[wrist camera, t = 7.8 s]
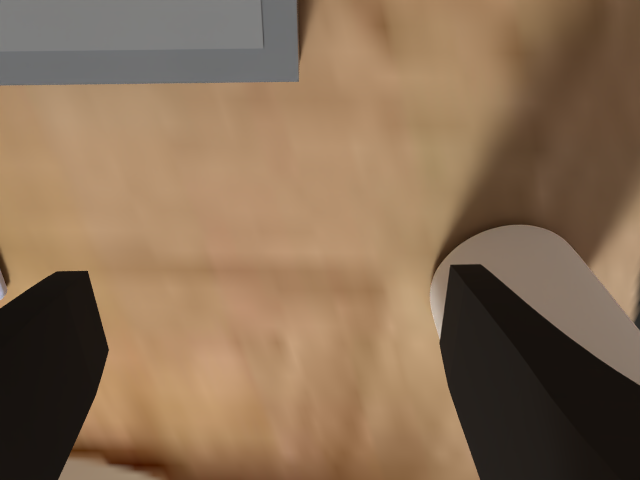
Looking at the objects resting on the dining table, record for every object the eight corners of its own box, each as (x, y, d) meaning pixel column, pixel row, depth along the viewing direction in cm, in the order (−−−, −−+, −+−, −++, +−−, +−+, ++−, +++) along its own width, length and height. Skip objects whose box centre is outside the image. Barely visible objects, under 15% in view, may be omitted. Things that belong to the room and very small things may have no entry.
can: (442, 214, 22) (561, 479, 12) (598, 223, 22) (848, 489, 12) (415, 338, 25) (490, 630, 15) (552, 344, 26) (717, 635, 15)
